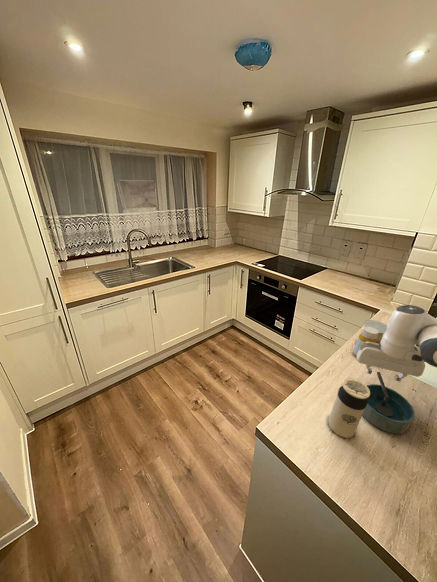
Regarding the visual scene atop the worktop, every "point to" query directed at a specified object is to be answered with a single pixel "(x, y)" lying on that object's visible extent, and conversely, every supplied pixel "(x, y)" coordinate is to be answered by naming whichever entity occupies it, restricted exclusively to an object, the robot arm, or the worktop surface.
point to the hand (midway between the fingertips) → (382, 376)
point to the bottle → (366, 337)
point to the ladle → (382, 407)
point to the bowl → (396, 403)
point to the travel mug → (348, 407)
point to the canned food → (379, 326)
